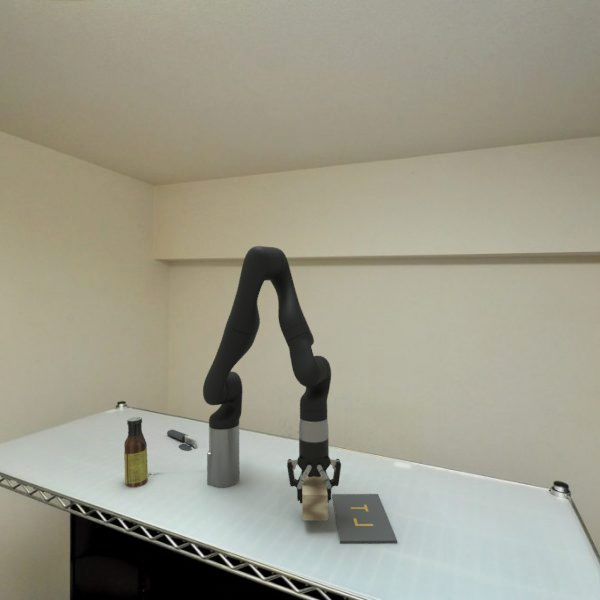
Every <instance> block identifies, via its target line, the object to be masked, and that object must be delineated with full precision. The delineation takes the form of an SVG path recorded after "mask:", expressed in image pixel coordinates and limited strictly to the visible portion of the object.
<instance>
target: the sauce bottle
mask: <svg viewBox="0 0 600 600" xmlns="http://www.w3.org/2000/svg"><path fill="white" fill-rule="evenodd" d="M126 422H127V423H126V424H127V437H126V439H125V441H124V452H123V453H124V482H125V486H126V487H128V488H139V487H142V486H144V485H146V484H147V482H148V477H149V475H148V474H149V472H148V446H147V441H146V439H145V436H144V433H143V430H142V427H143V426H142V423H143V418H142V417H139V416H134V417H131V418H128V419H127V421H126Z"/></svg>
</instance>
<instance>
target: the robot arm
mask: <svg viewBox="0 0 600 600" xmlns="http://www.w3.org/2000/svg"><path fill="white" fill-rule="evenodd" d="M265 281H270V283H271V284H272V286H273V288H274V289H275V290H274V291H275V292H276V295H277V301H278V308H277V309H278V311H277V312H278V313H277V314H278V317H277V318H278V325H279V327H280V330H281V333H282V335H283V338H284V340H285V342H286V344H287V346H288V350H289V357H290V358H289V359H290V363H291V368H292V372H293V375H294V377H295V379H296V381H298V383H299V384H300V385H301V386H303V387H305V391H304V393H303V394H302V396H301V397H300V400H299V423H298V425H299V426H298V457H297V459H293V460H292V459H291V458H288V459H287V463H286V468H287V474H288V481H289V486H290V487H292V488H293V487H294V488H296V489H297V490H296V499H297V501H298V502H299V504H302V485H303V484H304V482H305V480H306V478H307V476H308V477H313V476H315V477H320V476H321V477H322V479H323V481H324V482H325V484H326V487H327V494H328V504H329V502H330V501H332V488H333V487H338V486H339V482H340V477H341V469H342V463H341V459H340V458H336V459H331V457H330V455H329V454H330V452H329V449H330V448H329V442H330V441H329V423H328V422H329V421H328V398H329V393H330V386H331V380H332V368H331V364H330V362H329V361H328V359H327V358H325V356H322V355H314V352H313V349H312V348H313V347H312V346H313V345H314V343H315V339H314V336H313V334H312V330H311V329H310V326H309V324H308V321H307V319H306V317H305V315H304V312H303V309H302V307H301V304H300V301H299V297H298V294H297V290H296V288H295V284H294V280H293V276H292V271H291V268H290V264H289V261H288V258H287V256H286V254H285V252H284V251H283V250H282V249H280V248H278V247H273V246H264V245H262V246H261V245H256V246H253V247H251V248H250V249H249V250H247V253H246V254H245V257H244V259H243V263H242V266H241V271H240V275H239V280H238V286H237V289H236V293H235V296H234V299H233V303H232V306H231V310H230V313H229V316H228V318H227V321H226V324H225V327H224V330H223V334H222V337H221V339H220V343H219V346H218V349H217V352H216V354H215V357H214V360H213V362H212V364H211V366H210V368H209V370H208V372H207V373H206V377H205V379H204V382H203V387H202V397H203V400H204V402H206V404H208V405H209V406H219V405H220V406H219V408H217V410H215V411H214V412H213V413H211V415H210V416H209V417H208V451H207V454H206V458H207V459H206V461H207V462H206V472H207V473H206V474H207V475H206V476H207V477H206V479H207V480H206V481H207V482H206V485H208V486H212V487H215V488H228V487H230V486H234V485H236V484H237V483H238V482H239V481H240V419H241V415H242V410H243V409H242V407H243V381H242V378H241V377H240V375H239V374H238V373H237V372H235V371H232V370H233V368H234V367H235V365H236V364H237V363H238V362H239V361H240V360H241V359H242V358H243V357H244V356H245V355H246V354H247V353H248V351H249V350H250V349H251V347H252V346H253V344H254V342H255V341H256V340H255V339H256V337H257V335H258V332H259V328H260V324H261V319H260V313H259V308H258V306H259V305H258V298H259V296H260V292H261V289H262V287H263V285H264V282H265ZM297 466H298V467H299V469H301V472H300V473H299V476H298V479H296V478H295V473H294V470H296V469H297V468H296V467H297ZM330 466H331V467H332V469H333V476H332V478H331V479H330V477H329V475H328V472H327V470H328V469H329V467H330Z"/></svg>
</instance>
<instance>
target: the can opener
mask: <svg viewBox="0 0 600 600" xmlns="http://www.w3.org/2000/svg"><path fill="white" fill-rule="evenodd" d="M166 434H167V436H170V437H172V438H174V439H176V440H180V441H181V442H182V443H181V444H178V449H180V450H181V451H185V452H190V451H193V449H197V448H198V440H197V439H196V438H194V437H191V436H189V435H188V434H186V433H184V432H181V431H178V430H176V429H169V430H168V431H167V433H166Z"/></svg>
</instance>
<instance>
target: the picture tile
mask: <svg viewBox="0 0 600 600" xmlns="http://www.w3.org/2000/svg"><path fill="white" fill-rule="evenodd" d="M331 500H332V503H333V509H334V515H335V523H336V527H337V532H338V538H339V544H342V545H343V544H348V545H349V544H351V545H352V544H398V540H397V537H396V534H395V532H394V530H393V526H392V524H391V522H390V520H389V517H388V514H387V512H386V510H385V507H384V505H383V502H382V500H381V498H380V495H379V493H333V494H332V493H331Z"/></svg>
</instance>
